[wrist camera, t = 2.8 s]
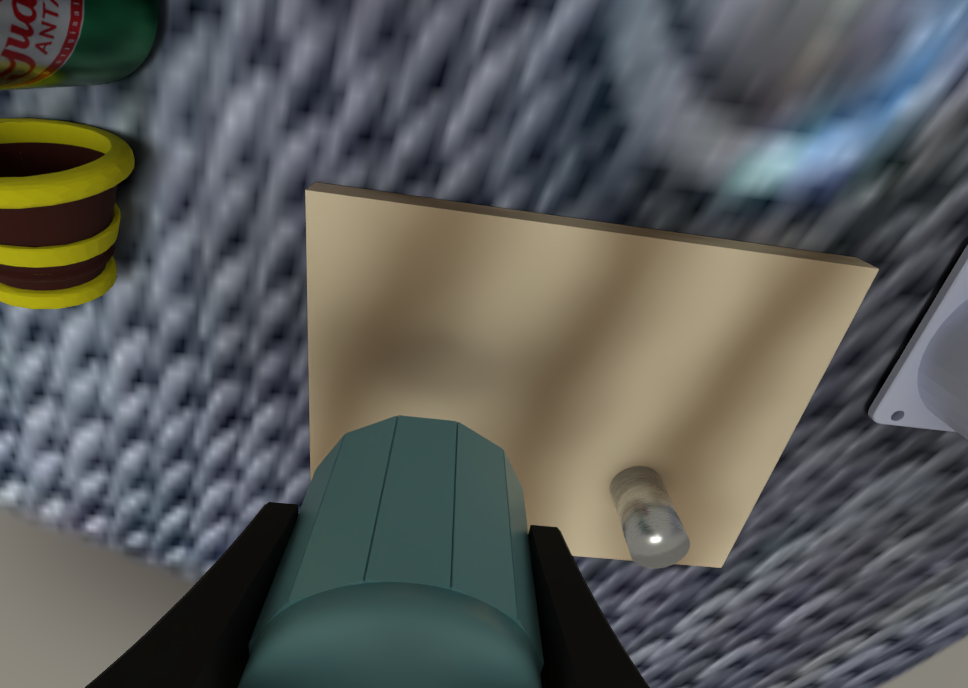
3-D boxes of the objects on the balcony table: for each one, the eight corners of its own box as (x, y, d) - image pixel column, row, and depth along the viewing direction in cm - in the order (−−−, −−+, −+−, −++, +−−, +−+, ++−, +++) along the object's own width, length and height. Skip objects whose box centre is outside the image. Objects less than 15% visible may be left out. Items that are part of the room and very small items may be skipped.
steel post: (668, 468, 22) (698, 529, 19) (653, 507, 23) (678, 570, 20) (617, 463, 21) (639, 524, 19) (604, 503, 22) (623, 566, 20)
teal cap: (537, 429, 12) (575, 644, 7) (502, 575, 14) (516, 804, 10) (314, 406, 11) (216, 620, 7) (316, 560, 14) (243, 793, 9)
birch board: (855, 257, 19) (879, 269, 18) (710, 546, 26) (721, 567, 25) (315, 182, 17) (305, 189, 16) (318, 513, 24) (311, 534, 23)
